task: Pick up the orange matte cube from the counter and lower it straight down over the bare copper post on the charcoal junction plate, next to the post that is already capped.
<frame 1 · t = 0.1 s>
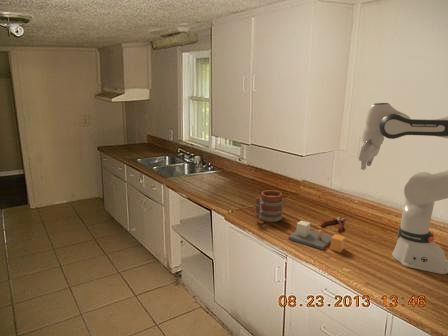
hand: (365, 167, 156), 39 cm above the worktop, tool pointing down, fingers open, 8 cm apart
junction plate: (310, 239, 169), on the worktop
pliers: (338, 226, 187), on the worktop
orange matte cube: (337, 249, 159), on the worktop
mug: (267, 218, 195), on the worktop
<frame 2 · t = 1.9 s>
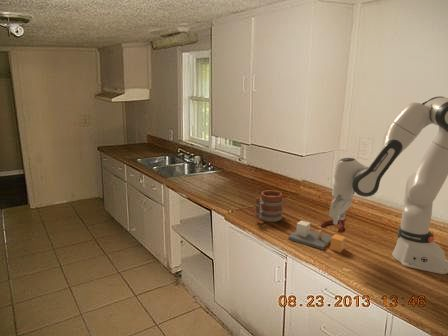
hand: (338, 220, 156), 14 cm above the worktop, tool pointing down, fingers open, 8 cm apart
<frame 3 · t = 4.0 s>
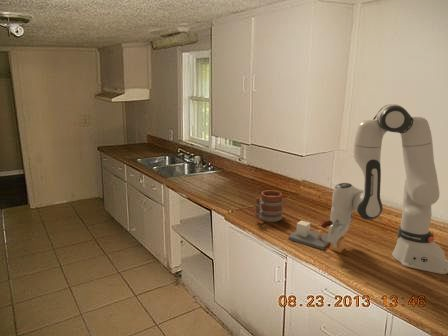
hand: (337, 244, 159), 2 cm above the worktop, tool pointing down, fingers closed on orange matte cube, 5 cm apart
orange matte cube: (337, 248, 159), on the worktop, touching gripper
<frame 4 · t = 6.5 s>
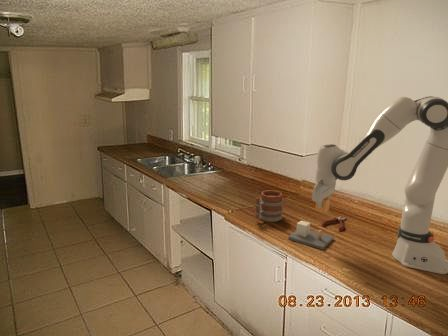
hand: (322, 205, 162), 19 cm above the worktop, tool pointing down, fingers closed on orange matte cube, 5 cm apart
orange matte cube: (321, 210, 162), point 17 cm above the worktop, touching gripper
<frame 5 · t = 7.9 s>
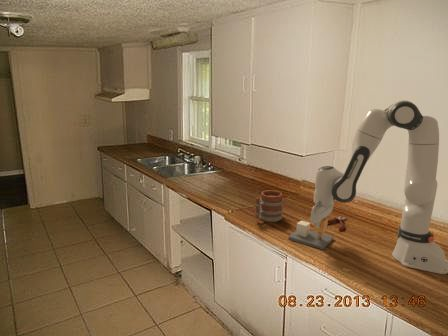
hand: (320, 225, 165), 9 cm above the worktop, tool pointing down, fingers closed on orange matte cube, 5 cm apart
orange matte cube: (320, 230, 165), point 6 cm above the worktop, touching gripper
when the fingers open (5 cm above the worktop, at t = 9.0 s): orange matte cube drops 1 cm, resting on junction plate.
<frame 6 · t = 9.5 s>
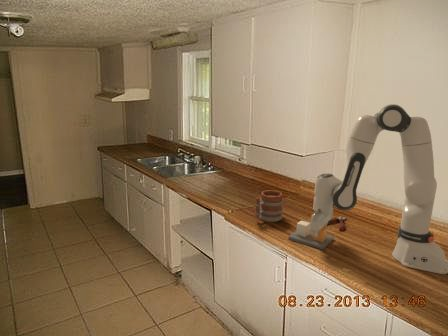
hand: (320, 232, 165), 5 cm above the worktop, tool pointing down, fingers open, 8 cm apart
orange matte cube: (319, 238, 166), point 1 cm above the worktop, touching junction plate
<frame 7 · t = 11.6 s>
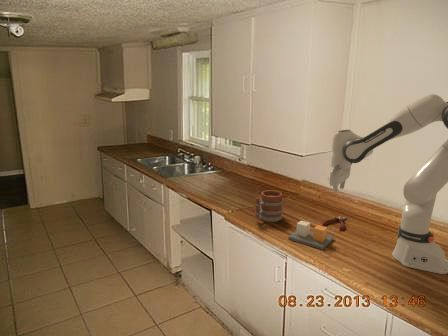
hand: (338, 190, 165), 25 cm above the worktop, tool pointing down, fingers open, 8 cm apart
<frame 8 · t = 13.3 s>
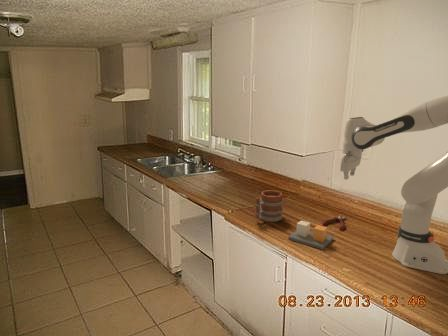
hand: (349, 177, 168), 31 cm above the worktop, tool pointing down, fingers open, 8 cm apart
at the end: orange matte cube 0.1 cm from the target spot on the junction plate, point 1.5 cm above the junction plate's base; orange matte cube tilted 0°; the gripper is holding nothing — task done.
